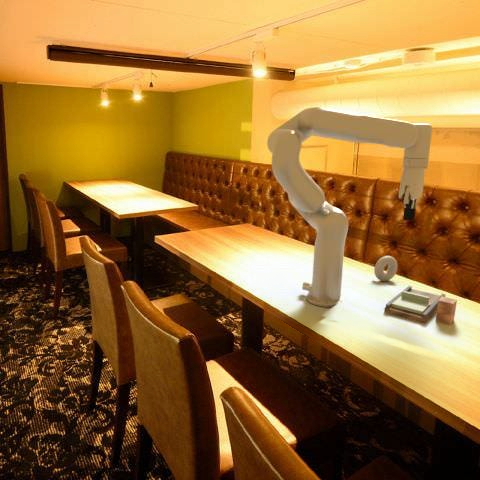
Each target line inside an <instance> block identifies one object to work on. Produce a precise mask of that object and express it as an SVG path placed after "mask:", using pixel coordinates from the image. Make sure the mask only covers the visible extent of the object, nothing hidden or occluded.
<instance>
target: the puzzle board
mask: <svg viewBox="0 0 480 480" xmlns="http://www.w3.org/2000/svg"><path fill="white" fill-rule="evenodd" d="M402 291H407V292H411V293H415V294H419V295H424V296H428V297H429V303H431V305H430V307H429V308H428V309H427V310H426V311H425V312H424V313H423V314H422V315H421V314H418V313H414V312H410V311H406V310H403V309H399V308H395V307H391V306H392V303H393V302H394V301H395V300H397V299H398V298H399V297H400V296H402ZM402 291H401V292H400V293H398V294H397V295H396V296H394V297H393V298H392V299H390V300H389V301H388V302H387V303H386V304H385V307H384V312H383V313H385V314H388V315H392V316H395V317H400V318H402V319H408V320H409V321H414V322H417V323H422V324H426V323H427V322H428V320H429V319H431V317H432V316H433V315H434V314H435V313H437V307H438V300H439V299H440V298H441V297H446V294H445V293H441V294H440V295H439V294H434V293H430V292H426V291H422V290H418V289H414V288H413V286H411V285H408V286H407V287H405V288H404V289H403V290H402Z"/></svg>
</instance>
